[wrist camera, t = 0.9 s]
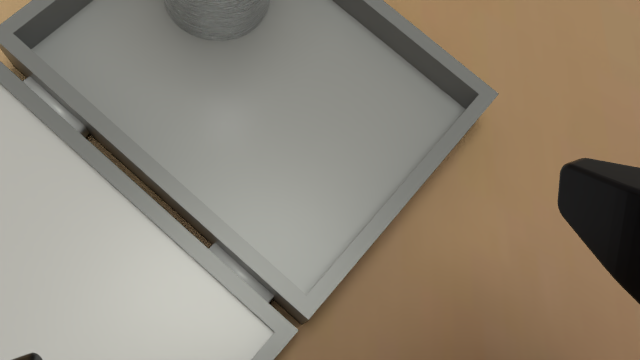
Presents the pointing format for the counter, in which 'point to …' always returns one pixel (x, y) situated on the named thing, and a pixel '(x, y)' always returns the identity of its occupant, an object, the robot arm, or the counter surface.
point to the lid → (108, 256)
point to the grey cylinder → (217, 17)
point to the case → (261, 121)
